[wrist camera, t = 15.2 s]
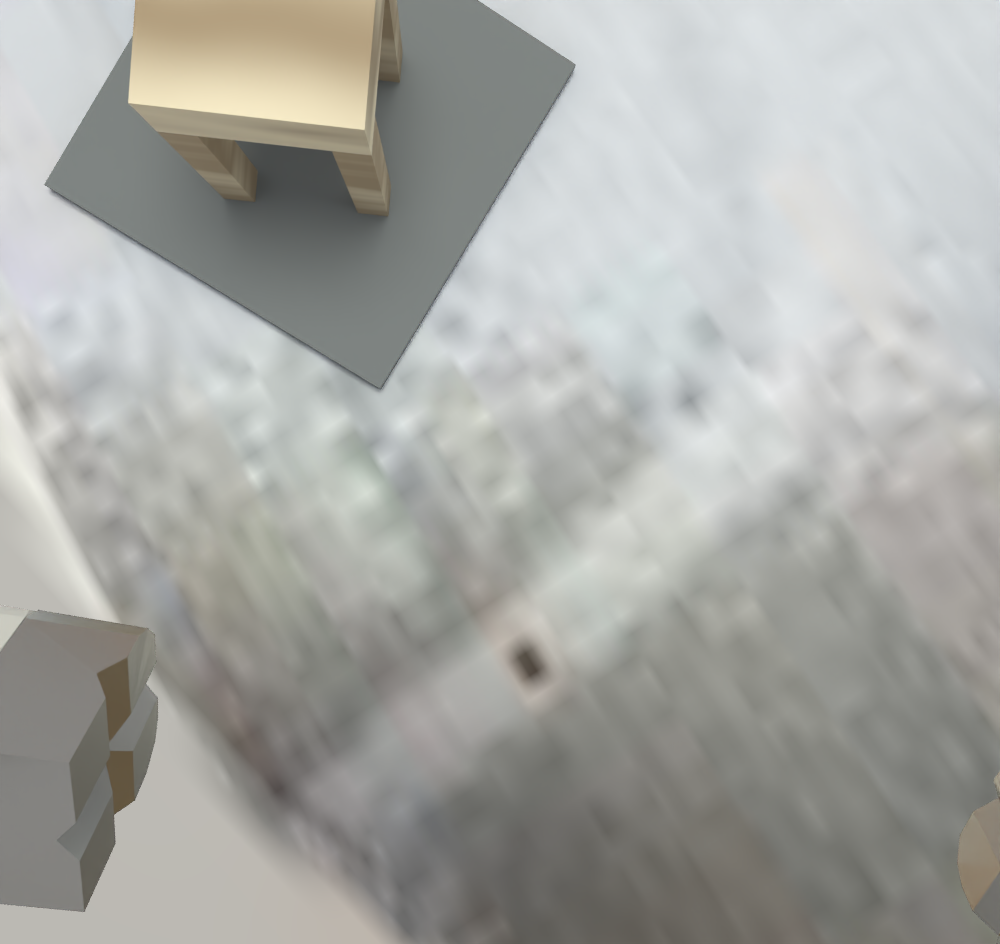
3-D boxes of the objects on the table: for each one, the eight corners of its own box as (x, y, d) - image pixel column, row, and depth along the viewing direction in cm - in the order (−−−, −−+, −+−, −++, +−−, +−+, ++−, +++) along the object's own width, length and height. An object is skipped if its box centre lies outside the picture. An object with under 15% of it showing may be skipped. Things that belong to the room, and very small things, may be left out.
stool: (237, 31, 36) (145, -140, 25) (402, 51, 36) (384, -109, 25) (224, 198, 36) (128, 103, 25) (388, 216, 36) (364, 129, 25)
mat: (247, -144, 36) (244, -153, 35) (573, 70, 37) (575, 64, 37) (50, 188, 36) (44, 184, 36) (380, 389, 37) (379, 388, 37)
